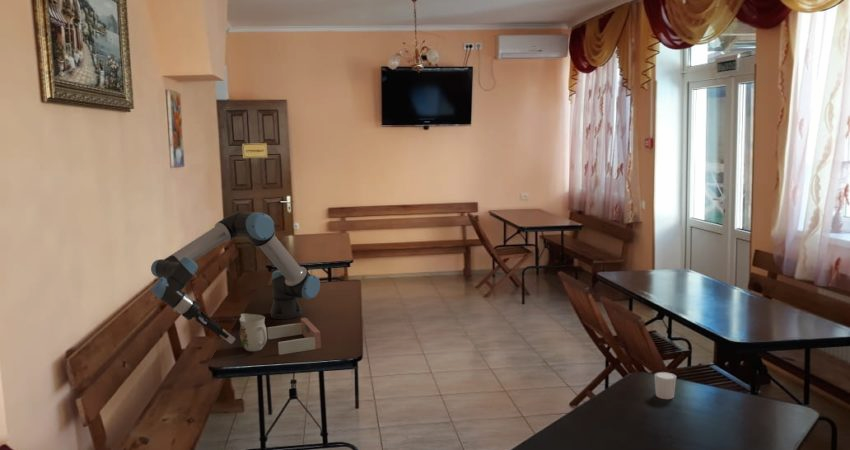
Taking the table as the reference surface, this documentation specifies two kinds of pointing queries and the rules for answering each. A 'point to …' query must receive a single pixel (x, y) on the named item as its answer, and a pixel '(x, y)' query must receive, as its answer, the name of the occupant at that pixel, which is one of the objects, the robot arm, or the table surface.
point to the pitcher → (253, 331)
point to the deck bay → (305, 328)
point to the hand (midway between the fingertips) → (233, 341)
